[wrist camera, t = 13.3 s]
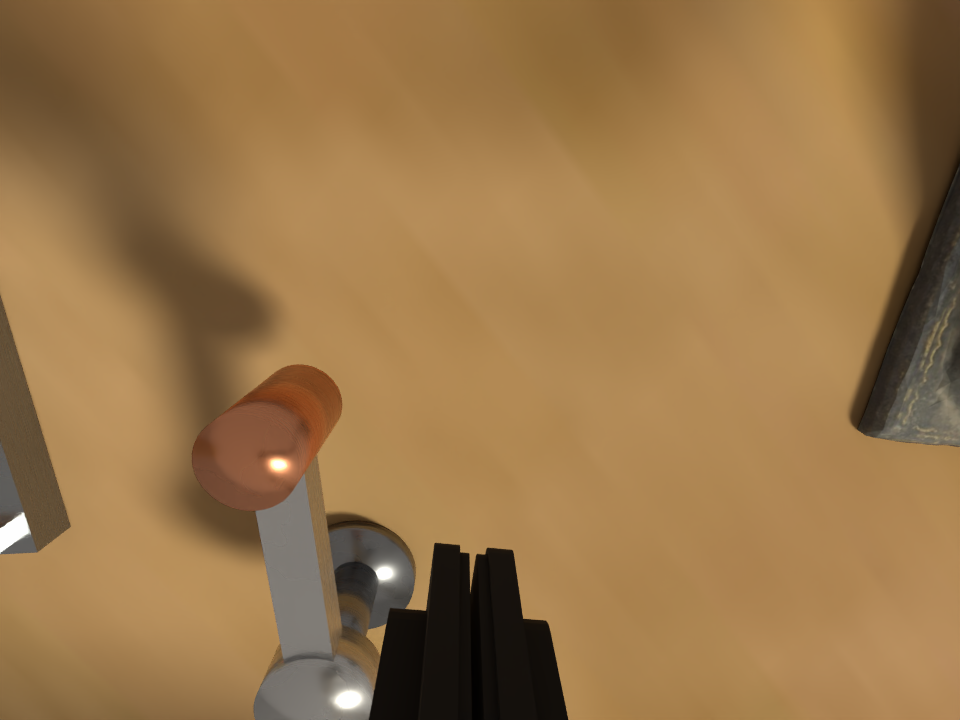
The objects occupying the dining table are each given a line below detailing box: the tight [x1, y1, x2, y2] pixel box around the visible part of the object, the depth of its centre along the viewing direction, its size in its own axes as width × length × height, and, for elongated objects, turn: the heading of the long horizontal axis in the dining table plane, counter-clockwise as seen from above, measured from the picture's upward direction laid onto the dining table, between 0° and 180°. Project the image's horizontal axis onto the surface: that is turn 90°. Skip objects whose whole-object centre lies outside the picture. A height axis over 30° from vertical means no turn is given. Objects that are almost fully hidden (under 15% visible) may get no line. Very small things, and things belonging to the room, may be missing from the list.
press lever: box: [192, 365, 380, 720], centre depth 18 cm, size 4×15×5 cm, turn 2°
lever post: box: [328, 521, 416, 636], centre depth 23 cm, size 6×6×6 cm
